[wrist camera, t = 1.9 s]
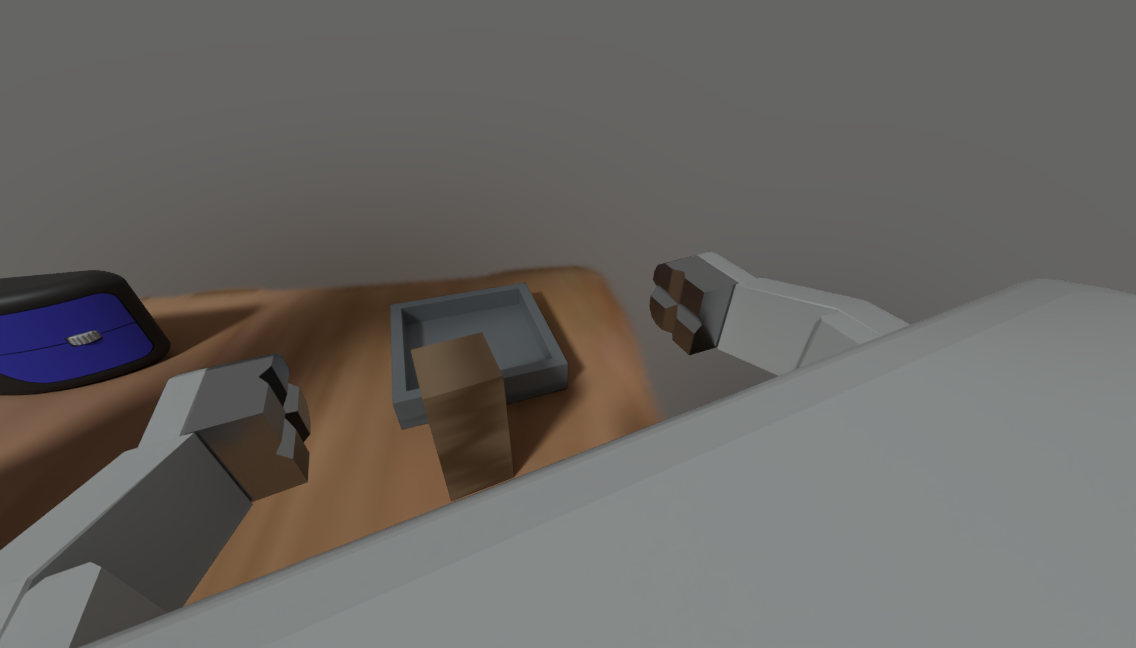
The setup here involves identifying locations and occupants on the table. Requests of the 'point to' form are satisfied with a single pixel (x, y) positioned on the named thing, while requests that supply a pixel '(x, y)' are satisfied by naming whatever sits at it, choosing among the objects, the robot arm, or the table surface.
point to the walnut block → (466, 412)
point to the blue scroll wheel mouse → (72, 331)
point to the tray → (506, 327)
